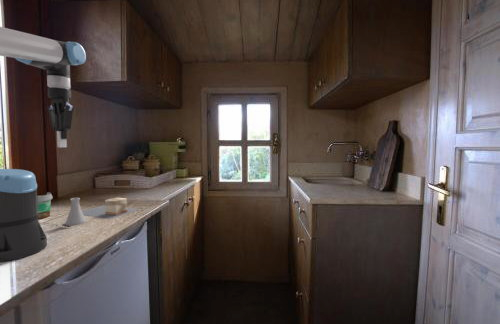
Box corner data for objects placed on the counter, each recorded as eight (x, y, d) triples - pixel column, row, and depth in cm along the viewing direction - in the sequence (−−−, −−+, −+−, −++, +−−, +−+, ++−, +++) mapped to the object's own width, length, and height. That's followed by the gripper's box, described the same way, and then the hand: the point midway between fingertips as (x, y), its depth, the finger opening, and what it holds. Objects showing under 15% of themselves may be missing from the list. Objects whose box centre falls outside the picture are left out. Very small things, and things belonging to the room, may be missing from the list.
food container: (31, 224, 97) (29, 198, 96) (18, 223, 98) (16, 198, 98) (61, 215, 109) (60, 192, 108) (49, 214, 110) (48, 192, 110)
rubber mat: (109, 220, 103) (109, 218, 103) (71, 214, 110) (71, 213, 110) (139, 210, 118) (139, 209, 118) (104, 206, 125) (104, 205, 125)
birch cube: (105, 200, 110) (105, 213, 110) (115, 201, 108) (116, 215, 108) (116, 197, 116) (117, 210, 116) (126, 198, 113) (127, 211, 114)
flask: (68, 228, 93) (67, 201, 92) (61, 224, 98) (60, 198, 97) (90, 223, 99) (89, 198, 98) (83, 220, 103) (82, 195, 103)
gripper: (80, 89, 104) (82, 147, 105) (58, 91, 108) (60, 147, 110) (60, 85, 97) (63, 147, 98) (38, 87, 101) (41, 147, 103)
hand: (62, 147), depth 104 cm, fingers closed
